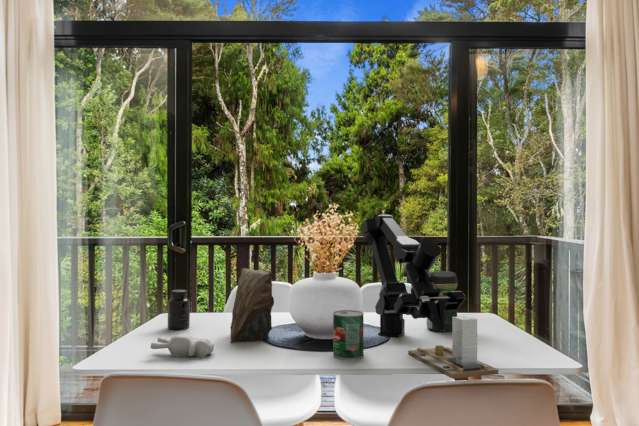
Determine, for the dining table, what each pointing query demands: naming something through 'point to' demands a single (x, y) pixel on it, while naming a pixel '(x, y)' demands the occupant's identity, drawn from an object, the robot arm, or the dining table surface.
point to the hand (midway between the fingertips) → (441, 330)
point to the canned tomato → (348, 334)
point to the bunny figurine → (185, 346)
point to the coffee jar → (444, 295)
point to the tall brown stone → (252, 307)
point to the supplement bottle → (178, 310)
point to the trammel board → (448, 363)
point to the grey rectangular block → (464, 343)
